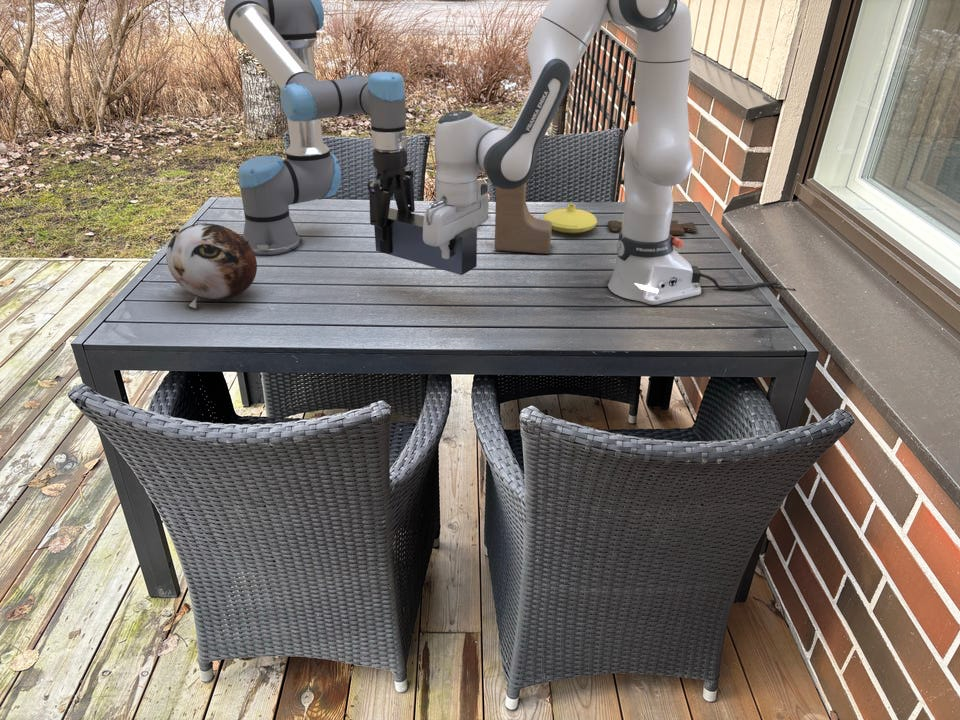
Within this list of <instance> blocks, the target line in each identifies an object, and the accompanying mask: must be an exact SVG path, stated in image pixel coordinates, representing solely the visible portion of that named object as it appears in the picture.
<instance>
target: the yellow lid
mask: <svg viewBox="0 0 960 720" xmlns="http://www.w3.org/2000/svg"><path fill="white" fill-rule="evenodd" d="M543 220H545V221H549V222H551V223H552V230H554V231H556V232H559V233H564V234H580V233H584V232H585V233H586V232H587V231H591V230H592V229H594V228H596V226H597V223H598V219H597V217H596V215H595V214H593V213H591V212H589V211H587V210H584V209H578V208H576V205H575V204H571V203H570V204H567V208H557V209H552V210H549V211H548V212H547V213H545V214H544V216H543Z"/></svg>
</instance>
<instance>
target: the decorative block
mask: <svg viewBox="0 0 960 720" xmlns="http://www.w3.org/2000/svg"><path fill="white" fill-rule="evenodd" d="M527 183H528V181H527V182H526V183H525V184H523V185H522V186H520V187H518V188H515V189H502V188H499V187H497V186H495V213H494V216H495V218H494V251H498V252H514V253H529V254H543V255H548V254H549V253H550V250H551V243H552V230H553V229H552V223H551V222H549V221H545V220H544V219H540V218H536V217H535V216H533V215H532V214H530V211H529V208H528V204H527Z"/></svg>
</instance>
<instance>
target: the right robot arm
mask: <svg viewBox="0 0 960 720" xmlns="http://www.w3.org/2000/svg"><path fill="white" fill-rule="evenodd" d="M691 17H692V16H691V11H690V8H689V6H687V4H686V3H685V2H683V1H681V0H549V2H548V3H547V5H546V7H545V8H544V10H543V12H542V14H541V15H540V17H539V18H538V20H537V22H536V24H535V26H534V28H533V29H532V32H531V34H530V37H529V40H528V42H527V46H526V49H525V50H526V59H527V63H528V66H529V70H530V76H531V77H530V79H531V81H530V89H529V91H528V94H527V96H526V99H525V101H524V103H523V105H522V107H521V109H520V111H519V113H518V114H517V117H516V119H515V121H514V123H513V125H512V127H511V129H508V128H507V127H506V126H503V125H499V124H495V123H493V122H489V121H486V120H484V119H483V118H480V117H479V116H477V115H476V114H475V113H474V112H473V111H471V110H466V109H463V110H453V111H450V112H447V113H445V114H444V115H441V117H440V118H439V119H438V120H437V122H436V126H435V134H434V160H435V163H436V170H435V174H434V185H435V186H434V187H435V189H434V190H435V200H432V201H431V202H430V203H429V206H428V207H427V208H426V210H425V212H424V215H423V216H424V222H423V241H424V242H425V244H427V245H430V246H435V247H438V246H439V247H440V249H441V250H442V258H444V259H449V258H450V257H452V250H450V249H449V247H448V245H449V244H450V240H451V239H453V238H455V235H457V234H459V233H461V232H463V231H465V230H467V229H469V228H476V227H478V226H480V225H482V224H484V223H485V222H486V221H487V219H488V216H489V207H490V205H489V202H490V201H489V199H490V197H489V192H490V188H491V187H490V183H489V182H486V181H483V180H478V175H479V174H480V173H481V174H482V173H485V174H486V176H487V178H488V179H489V181H490V182H491V184H492V185H494V186H495V187H496V186H497V187H499V188H502V189H515V188H518V187H520V186H522V185H523V184H525V183H526V182H527V183H528V182H529V181H530V179H531V178H532V176H533V174H534V172H535V169H536V165H537V161H538V154H539V150H540V146H541V145H542V142H543V140H544V138H545V135H546V134H547V131H548V129H549V128H550V125H551V123H552V122H553V120H554V117H555V115H556V113H557V112H558V109H559V107H560V105H561V103H562V102H563V99H564V97H565V95H566V92H567V89H568V87H569V84H570V82H571V80H572V77H573V75H574V72H575V71H576V69H577V67H578V65H579V63H580V62H581V59H582V58H583V56H584V54H585V53H586V51H587V49H588V47H589V46H590V44H591V42H592V40H593V38H594V36H595V34H596V33H597V32H598V31H599V29H601V27H602V26H603V25H605V24H606V23H611V24H614V25H617V26H621V27H632V28H634V30H635V33H636V40H637V48H636V59H635V77H634V94H633V100H634V104H635V110H636V118H637V120H636V122H634V123H633V124H631V125H630V126H629V127H628V129H627V130H626V131H625V134H624V137H623V151H624V159H623V160H624V163H623V165H624V169H623V170H624V171H623V173H624V174H623V175H624V177H623V178H624V205H623V214H622V230H621V231H619V233H618V240H617V245H616V255H617V256H616V261H615V264H614V268H613V272H612V274H611V277H610V279H609V281H608V284H607V287H608V289H609V290H610V292H612V294H614V295H616V296H617V297H621V298H623V299H627V300H631V301H637V302H641V303H644V304H647V305H651V306H656V305H660V304H665V303H669V302H673V301H678V300H683V299H687V298H692V297H696V296H699V295H701V294H702V287H701V285H700V283H701V282H700V281H701V278H705V279H707V280H709V281H711V282H712V283H713V285H714V286H715V287H716V288H717V289H719V290H722V291H742V290H743V291H744V290H749V289H753V288H756V287H762V286H781V285H780V284H777V282H778V281H769V282H757V283H753V284H750V285H745V286H744V285H743V286H734V287H731V286H730V287H729V286H728V287H727V286H722V285H720V284H719V283H718V281H717V280H716V279H715V278H714V277H712V276H710V275H707V274H706V273H702V272H701V270H700V269H699V267H698V266H697V265H691V263H690V262H689V261H688V260H687V259H686V258H685V257H683V256H682V255H681V254H680V253H679V252H677V250H675V249H674V247H675V248H676V249H681V248H682V247H683V246H684V242H683V240H681V239H680V238H679V237H675V236H674V235H673V234H669V230H670V224H671V220H672V217H673V210H674V198H673V197H674V196H673V191H672V187H675V186H677V185H679V184H681V183H682V182H684V181H685V180H686V179H687V178H688V176H689V175H690V173H691V171H692V169H693V167H694V156H693V153H692V148H691V141H690V139H691V138H690V137H691V136H690V120H689V109H688V107H689V106H688V96H689V95H688V94H689V92H688V91H689V83H690V71H691V70H690V69H691V59H692V58H691V57H692V43H693V41H692V40H693V39H692V33H693V32H692V31H693V29H692V18H691Z"/></svg>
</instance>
